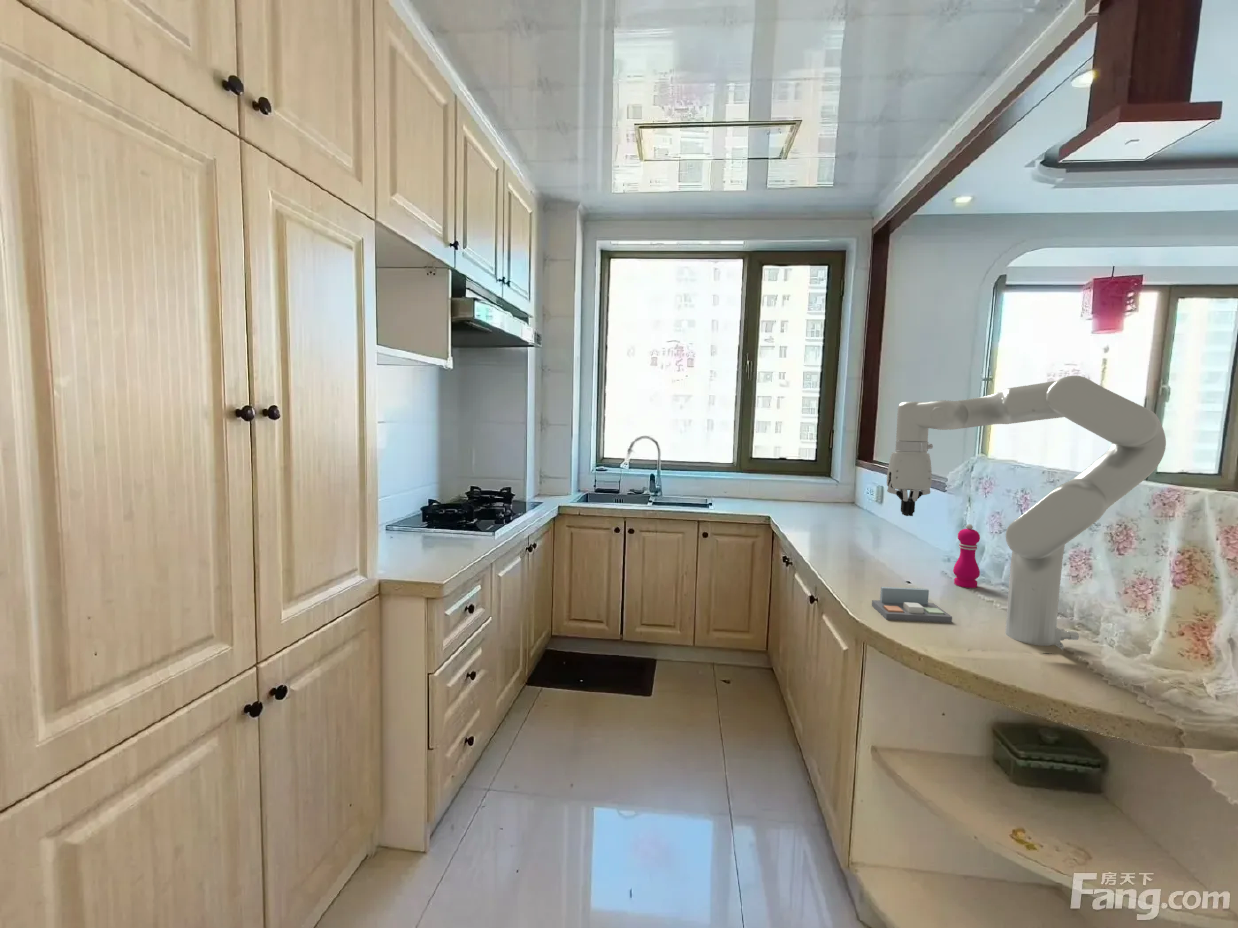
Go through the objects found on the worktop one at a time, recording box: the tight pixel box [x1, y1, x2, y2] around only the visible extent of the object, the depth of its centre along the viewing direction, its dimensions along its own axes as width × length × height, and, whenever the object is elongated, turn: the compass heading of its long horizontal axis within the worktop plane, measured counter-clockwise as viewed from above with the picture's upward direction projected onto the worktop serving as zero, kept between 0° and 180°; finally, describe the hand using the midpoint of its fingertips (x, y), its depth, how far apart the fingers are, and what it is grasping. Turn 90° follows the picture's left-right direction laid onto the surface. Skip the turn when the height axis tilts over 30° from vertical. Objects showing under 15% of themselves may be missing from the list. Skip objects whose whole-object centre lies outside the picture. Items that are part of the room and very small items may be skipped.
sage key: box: [924, 607, 944, 615], centre depth 142 cm, size 4×4×3 cm
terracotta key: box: [884, 605, 903, 613], centre depth 143 cm, size 4×4×3 cm
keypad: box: [871, 586, 953, 624], centre depth 144 cm, size 16×10×7 cm, turn 84°
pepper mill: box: [952, 523, 981, 589], centre depth 174 cm, size 7×7×20 cm
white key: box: [903, 602, 924, 614], centre depth 142 cm, size 4×4×3 cm
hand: (907, 515), depth 147 cm, fingers closed
